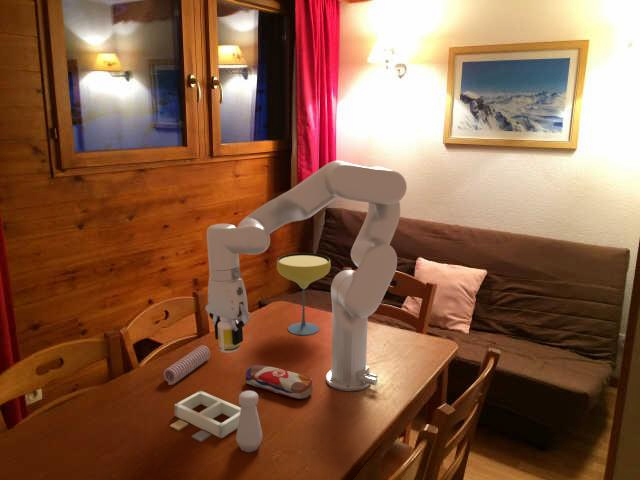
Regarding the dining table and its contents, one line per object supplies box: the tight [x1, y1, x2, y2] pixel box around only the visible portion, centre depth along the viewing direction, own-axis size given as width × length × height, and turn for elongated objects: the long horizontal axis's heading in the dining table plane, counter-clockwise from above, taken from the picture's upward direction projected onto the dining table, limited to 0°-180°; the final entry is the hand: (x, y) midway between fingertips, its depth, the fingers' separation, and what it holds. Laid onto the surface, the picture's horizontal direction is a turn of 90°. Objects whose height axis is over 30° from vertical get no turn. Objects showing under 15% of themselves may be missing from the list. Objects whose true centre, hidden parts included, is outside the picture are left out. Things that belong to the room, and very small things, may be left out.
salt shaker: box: [235, 390, 263, 453], centre depth 116 cm, size 6×6×13 cm
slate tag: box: [191, 429, 212, 443], centre depth 121 cm, size 3×3×1 cm
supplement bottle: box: [217, 316, 241, 354], centre depth 136 cm, size 5×5×10 cm
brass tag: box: [169, 419, 189, 432], centre depth 125 cm, size 3×3×1 cm
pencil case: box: [245, 364, 313, 400], centre depth 143 cm, size 11×20×5 cm, turn 46°
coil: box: [163, 344, 211, 386], centre depth 152 cm, size 5×5×18 cm
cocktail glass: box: [276, 252, 332, 336], centre depth 180 cm, size 18×18×25 cm
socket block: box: [173, 390, 241, 439], centre depth 128 cm, size 16×8×3 cm, turn 55°
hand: (229, 339), depth 137 cm, fingers closed on supplement bottle, 5 cm apart
